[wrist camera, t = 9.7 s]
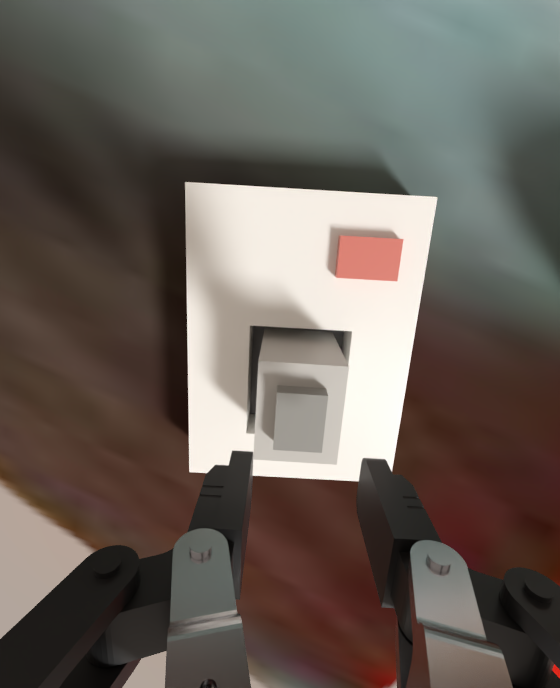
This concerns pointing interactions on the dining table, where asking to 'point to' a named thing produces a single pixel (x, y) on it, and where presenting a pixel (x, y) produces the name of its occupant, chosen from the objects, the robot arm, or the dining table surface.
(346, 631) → the dining table surface
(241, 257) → the socket plate
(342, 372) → the plug
